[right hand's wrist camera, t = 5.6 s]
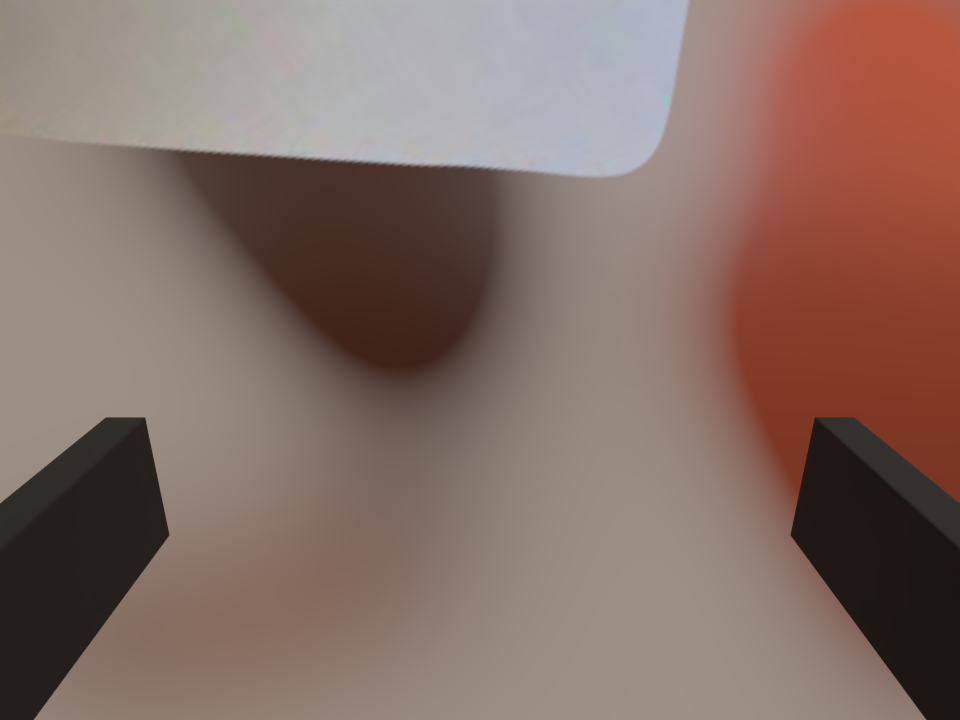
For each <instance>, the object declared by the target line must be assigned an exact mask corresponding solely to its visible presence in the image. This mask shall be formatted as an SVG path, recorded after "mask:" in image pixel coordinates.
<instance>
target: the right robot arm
mask: <svg viewBox="0 0 960 720" xmlns="http://www.w3.org/2000/svg"><path fill="white" fill-rule="evenodd" d="M168 536H169V531H168V526H167V521H166V516H165V512H164V507H163V502H162V497H161V492H160V488H159V483H158V478H157V473H156V468H155V463H154V459H153V454H152V449H151V444H150V439H149V434H148V430H147V425H146V420H145V418H105V419H104V420H102V421H101V422H100V423H99V424H97V425H96V426H95V427H94V428H93V429H91V430H90V431H89V432H88V433H86V434H85V435H84V436H83V437H81V438H80V439H79V440H78V441H77V442H75V443H74V444H73V445H72V446H70V447H69V448H68V449H67V450H65V451H64V452H63V453H62V454H61V455H59V456H58V457H57V458H56V459H54V460H53V461H52V462H51V463H49V464H48V465H47V466H46V467H45V468H43V469H42V470H41V471H40V472H38V473H37V474H36V475H35V476H33V477H32V478H31V479H30V480H29V481H27V482H26V483H25V484H24V485H22V486H21V487H20V488H19V489H18V490H16V491H15V492H14V493H13V494H11V495H10V496H9V497H8V498H6V499H5V500H4V501H3V502H2V503H0V720H34V718H35V717H36V716H37V714H38V713H39V712H40V710H41V709H42V707H43V706H44V705H45V703H46V702H47V701H48V699H49V698H50V697H51V695H52V694H53V693H54V691H55V690H56V689H57V687H58V686H59V684H60V683H61V682H62V680H63V679H64V678H65V676H66V675H67V674H68V672H69V671H70V669H71V668H72V667H73V665H74V664H75V663H76V661H77V660H78V659H79V657H80V656H81V655H82V653H83V652H84V650H85V649H86V648H87V646H88V645H89V644H90V642H91V641H92V640H93V638H94V637H95V636H96V634H97V633H98V631H99V630H100V629H101V627H102V626H103V625H104V623H105V622H106V621H107V619H108V618H109V617H110V615H111V614H112V612H113V611H114V610H115V608H116V607H117V606H118V604H119V603H120V602H121V600H122V599H123V598H124V596H125V595H126V593H127V592H128V591H129V589H130V588H131V587H132V585H133V584H134V583H135V581H136V580H137V579H138V577H139V576H140V574H141V573H142V572H143V570H144V569H145V568H146V566H147V565H148V564H149V562H150V561H151V559H152V558H153V557H154V555H155V554H156V553H157V551H158V550H159V549H160V547H161V546H162V545H163V543H164V542H165V540H166V539H167V538H168ZM791 536H792V538H793V539H794V540H795V542H796V543H797V545H798V546H799V547H800V549H801V550H802V551H803V553H804V554H805V555H806V557H807V558H808V560H809V561H810V562H811V564H812V565H813V566H814V568H815V569H816V570H817V572H818V573H819V574H820V576H821V577H822V578H823V580H824V581H825V583H826V584H827V585H828V587H829V588H830V589H831V591H832V592H833V593H834V595H835V596H836V598H837V599H838V600H839V602H840V603H841V604H842V606H843V607H844V608H845V610H846V611H847V612H848V614H849V615H850V616H851V618H852V619H853V621H854V622H855V623H856V625H857V626H858V627H859V629H860V630H861V631H862V633H863V634H864V636H865V637H866V638H867V640H868V641H869V642H870V644H871V645H872V646H873V648H874V649H875V651H876V652H877V653H878V655H879V656H880V657H881V659H882V660H883V661H884V663H885V664H886V665H887V667H888V668H889V670H890V671H891V672H892V674H893V675H894V676H895V678H896V679H897V680H898V682H899V683H900V684H901V686H902V687H903V688H904V690H905V691H906V693H907V694H908V695H909V697H910V698H911V699H912V701H913V702H914V703H915V705H916V706H917V708H918V709H919V710H920V712H921V713H922V714H923V716H924V717H925V718H926V720H960V503H958V502H957V501H956V500H955V499H954V498H952V497H951V496H950V495H949V494H947V493H946V492H945V491H944V490H942V489H941V488H940V487H939V486H937V485H936V484H935V483H934V482H933V481H931V480H930V479H929V478H928V477H927V476H925V475H924V474H923V473H922V472H920V471H919V470H918V469H917V468H915V467H914V466H913V465H912V464H911V463H909V462H908V461H907V460H906V459H904V458H903V457H902V456H901V455H899V454H898V453H897V452H896V451H895V450H893V449H892V448H891V447H890V446H888V445H887V444H886V443H885V442H883V441H882V440H881V439H880V438H879V437H877V436H876V435H875V434H874V433H872V432H871V431H870V430H869V429H867V428H866V427H865V426H864V425H863V424H861V423H860V422H859V421H858V420H856V419H855V418H815V420H814V425H813V429H812V434H811V439H810V444H809V449H808V454H807V458H806V463H805V468H804V473H803V478H802V483H801V487H800V492H799V497H798V502H797V507H796V512H795V516H794V521H793V526H792V531H791Z"/></svg>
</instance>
